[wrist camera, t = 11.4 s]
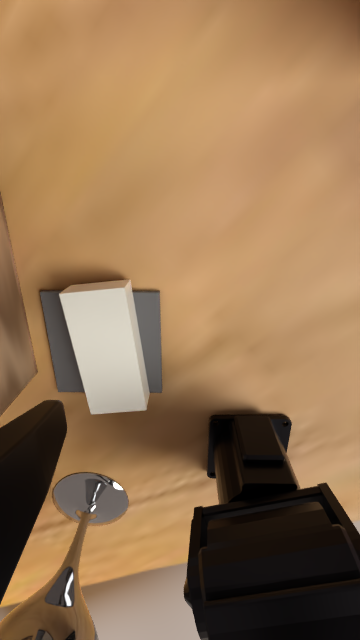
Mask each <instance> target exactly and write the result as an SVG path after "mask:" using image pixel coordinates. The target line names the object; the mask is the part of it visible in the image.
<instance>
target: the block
mask: <svg viewBox="0 0 360 640" xmlns="http://www.w3.org/2000/svg"><path fill="white" fill-rule="evenodd" d="M59 296H60V300H61V304H62V307H63V311H64V315H65V319H66V322H67V326H68V330H69V334H70V337H71V341H72V345H73V349H74V352H75V356H76V360H77V364H78V367H79V371H80V375H81V379H82V382H83V386H84V390H85V394H86V397H87V401H88V405H89V409H90V412H91V415H92V414H105V413H118V412H131V411H144V410H147V405H148V399H149V394H150V393H149V387H148V381H147V375H146V369H145V363H144V357H143V351H142V346H141V340H140V334H139V328H138V322H137V316H136V310H135V304H134V298H133V292H132V287H131V281H130V279H128V280H118V281H107V282H97V283H87V284H77V285H70V286H69V287H68V288H66V289H65V290H64V291H62V292H61V293H59Z"/></svg>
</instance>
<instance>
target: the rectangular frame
mask: <svg viewBox="0 0 360 640" xmlns="http://www.w3.org/2000/svg"><path fill="white" fill-rule="evenodd" d="M37 373H38V371H37V366H36V361H35V357H34V352H33V347H32V342H31V337H30V333H29V328H28V323H27V318H26V313H25V309H24V304H23V299H22V294H21V289H20V285H19V280H18V275H17V270H16V265H15V261H14V256H13V251H12V246H11V241H10V237H9V232H8V227H7V222H6V217H5V213H4V208H3V203H2V198H1V193H0V416H1V415H2V414H3V412H4V411H5V410H6V409H7V408H8V407H9V405H10V404H11V403H12V402H13V401H14V399H15V398H16V397H17V396H18V395H19V394H20V392H21V391H22V390H23V389H24V388H25V387H26V385H27V384H28V383H29V382H30V381H31V380H32V378H33V377H34V376H35V375H36V374H37Z"/></svg>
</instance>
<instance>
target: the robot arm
mask: <svg viewBox="0 0 360 640" xmlns="http://www.w3.org/2000/svg"><path fill="white" fill-rule="evenodd" d="M214 421H218V422H216V423H214ZM283 422H286V423H283ZM291 425H292V423H291V420H290V419H289V417H287V416H255V415H213V416H211V417H210V419H209V434H208V455H207V476H208V477H209V478H216V482H217V490H218V499H219V505H214V506H208V507H203V506H200V507H194V516H193V520H192V523H191V533H190V544H189V555H188V566H187V577H186V581H185V585H184V598H185V601H186V602H187V603H188V605H189V606H190V607H191V608H192V610H193V614H194V618H195V623H196V627H197V631H198V634H199V636H200V639H201V640H360V534H359V533H358V531H357V529H356V528H355V526H354V525H353V523H352V522H351V520H350V518H349V517H348V515H347V514H346V512H345V511H344V509H343V508H342V506H341V505H340V503H339V502H338V500H337V498H336V497H335V495H334V494H333V492H332V491H331V489H330V488H329V486H328V485H327V483H322V484H317V485H318V486H315V487H309V488H304V489H300V486H299V484H298V481H297V479H296V476H295V474H294V471H293V469H292V466H291V464H290V461H289V459H288V456H287V454H286V453H287V447H288V442H289V436H290V430H291ZM66 433H67V422H66V417H65V412H64V406H63V403H62V402H61V401H60V400H46V401H43V402H42V403H40V404H38V405H37V406H35V407H34V408H32V409H30V410H29V411H27V412H25V413H24V414H22V415H21V416H19V417H17V418H16V419H14V420H13V421H11V422H9V423H8V424H6V425H4V426H3V427H1V428H0V604H1V601H2V599H3V597H4V594H5V592H6V590H7V587H8V585H9V583H10V580H11V578H12V575H13V573H14V571H15V568H16V566H17V564H18V561H19V559H20V557H21V554H22V552H23V550H24V547H25V545H26V543H27V540H28V538H29V536H30V533H31V531H32V529H33V526H34V524H35V522H36V519H37V517H38V515H39V512H40V510H41V508H42V505H43V503H44V501H45V498H46V496H47V493H48V490H49V487H50V485H51V482H52V478H53V475H54V472H55V469H56V466H57V462H58V459H59V456H60V453H61V449H62V446H63V443H64V440H65V437H66Z"/></svg>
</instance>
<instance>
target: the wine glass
mask: <svg viewBox="0 0 360 640" xmlns="http://www.w3.org/2000/svg"><path fill="white" fill-rule="evenodd" d="M53 501H54V504H55V506H56V508H57V509H58V510H59V512H60V513H61V514H62V515H64V516H65V517H66V518H68V519H70V520H72V521H74V522H76V523H79V525H78V528H77V531H76V534H75V537H74V539H73V542H72V544H71V546H70V549H69V551H68V553H67V555H66V557H65V559H64V562H63V563H62V565H61V567H60V568H59V570H58V571H57V573H56V574H55V575H54V576H53V578H52V579H51V580H50V581H49V582H48V583H46V584H45V585H44V586H43V587H42V588H41V589H39V590H38V591H37V592H35V593H34V594H33V595H32V596H30V597H29V598H28V599H26V600H25V601H24V602H23V603H21V604H20V605H19V606H17V607H16V608H15V609H13V611H11V612H10V613H9V614H8V615H7V616H6V617H5V618H4V619H3V620H2V621H1V622H0V640H98V636H97V632H96V629H95V625H94V622H93V620H92V617H91V615H90V613H89V610H88V607H87V605H86V602H85V600H84V597H83V595H82V592H81V588H80V584H79V562H80V556H81V551H82V546H83V541H84V537H85V533H86V529H87V526H102V525H107V524H111V523H113V522H115V521H117V520H119V519H120V518H121V517H122V516H123V515H124V514H125V512H126V511H127V508H128V504H129V500H128V496H127V494H126V492H125V490H124V489H123V487H122V486H120V485H119V484H118V483H117V482H116V481H114V480H113V479H111V478H109V477H106V476H103V475H101V474H96V473H76V474H72V475H69V476H67V477H65V478H63V479H62V480H61V481H59V482H58V483H57V485H56V486H55V488H54V491H53Z"/></svg>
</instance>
